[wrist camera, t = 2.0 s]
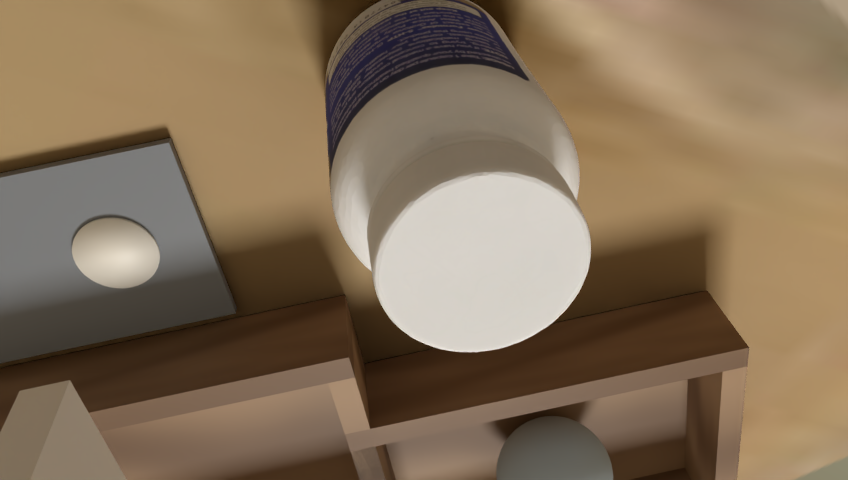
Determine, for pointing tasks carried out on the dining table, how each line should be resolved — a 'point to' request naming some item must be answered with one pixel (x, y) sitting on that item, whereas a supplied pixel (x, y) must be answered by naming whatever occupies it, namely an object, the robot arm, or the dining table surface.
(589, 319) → the cradle
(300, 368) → the cradle
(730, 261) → the dining table surface
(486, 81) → the pill bottle
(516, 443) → the ball
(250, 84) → the dining table surface
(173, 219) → the card
